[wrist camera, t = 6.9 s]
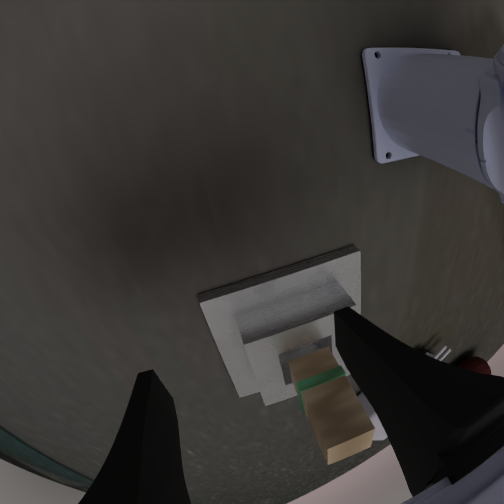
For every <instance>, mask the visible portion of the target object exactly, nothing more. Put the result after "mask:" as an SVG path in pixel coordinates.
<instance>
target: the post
mask: <svg viewBox="0 0 504 504" xmlns="http://www.w3.org/2000/svg"><path fill="white" fill-rule="evenodd" d="M288 363H289V368H290V373H291V378H292V383H293V386H294V388H295V391H296V393H297V395H298V398H299V401H300V406H301V408H302V411H303V413H304V414H306V416H307V418H308V421H309V423H310V425H311V427H312V430H313V432H314V434H315V437H316V439H317V441H318V443H319V446H320V448H321V450H322V452H323V455H324V457H325V459H326V462H327V464H328V465H329V464H332V463H334V462H337V461H339V460H342V459H344V458H346V457H349V456H351V455H353V454H356V453H358V452H360V451H362V450H365V449H367V448H369V447H371V443H372V439H373V435H374V431H375V427H374V425H373V424H372V422H371V420H370V418H369V417H368V415H367V413H366V411H365V410H364V408H363V406H362V404H361V403H360V401H359V399H358V397H357V396H356V394H355V392H354V390H353V389H352V387H351V385H350V383H349V382H348V380H347V378H346V373H345V371H344V369H343V368H342V366H341V365H340V366H339V364H338V363H337V361H336V359H335V358H334V356H333V354H332V352H331V351H330V349H329V347H326V348H323V349H320V350H318V351H315V352H312V353H310V354H307V355H304V356H302V357H299V358H296V359H293V360H290V361H288Z"/></svg>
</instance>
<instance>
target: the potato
mask: <svg viewBox="0 0 504 504" xmlns="http://www.w3.org/2000/svg"><path fill="white" fill-rule="evenodd" d="M456 366H457V367H460V368H463V369H466V370H470V371H474V372H478V373H483V374H489V375H491V370H490V367H489V365H488V363H487V362H486V361H485V360H484V359H482V358H480V357H476V356H475V357H469V358H467V359H465V360H463V361H462V362H460V363H459V364H458V365H456Z"/></svg>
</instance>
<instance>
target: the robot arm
mask: <svg viewBox="0 0 504 504" xmlns="http://www.w3.org/2000/svg"><path fill="white" fill-rule="evenodd" d="M375 52H376V53H377V55H378V56H377V58H376V57H375V55H374V53H375ZM362 58H363V64H364V71H365V77H366V84H367V91H368V99H369V107H370V115H371V125H372V135H373V146H374V158H375V160H376V161H377V162H378V163H381V164H383V163H388V162H392V161H397V160H401V159H406V158H410V157H415V156H419V155H421V156H423V157H426V158H428V159H431V160H433V161H435V162H438V163H440V164H442V165H444V166H447V167H449V168H451V169H453V170H456V171H458V172H460V173H462V174H464V175H466V176H468V177H470V178H473V179H475V180H477V181H479V182H481V183H483V184H485V185H487V186H489V187H491V188H493V189H495V190H496V191H497V192H498V193H499V194H500V197H501V202H502V203H503V204H504V44H503V46H502V47H501V49H500V50H499V51H498V52H497V53H496V55H495V56H494V58H493V59H491V58H483V57H473V56H462V55H460V54H459V52H458V51H453V50H441V49H424V48H366V49H364V50H363V52H362ZM387 153H388V157H386V154H387ZM334 326H335V346H336V348H337V350H338V352H339V354H340V356H341V358H342V360H343V362H344V364H345V366H346V368H347V369H348V371H349V372H350V374H351V376H352V377H353V379H354V380H355V382H356V383H357V385H358V386H359V388H360V389H361V391H362V392H363V394H364V395H365V397H366V398H367V400H368V401H369V403H370V404H371V406H372V407H373V409H374V411H375V413H376V414H377V416H378V418H379V420H380V422H381V424H382V426H383V428H384V430H385V432H386V434H387V436H388V439H389V441H390V443H391V445H392V447H393V449H394V452H395V454H396V457H397V459H398V461H399V464H400V466H401V468H402V471H403V474H404V476H405V479H406V482H407V484H408V487H409V490H410V492H411V494H412V496H413V497H412V498H410V499H409V500H407V501H405V502H403V503H401V504H504V377H500V376H494V375H489V374H483V373H478V372H474V371H470V370H466V369H463V368H460V367H457V366H454V365H451V364H448V363H445V362H442V361H440V360H437V359H435V358H433V357H430V356H428V355H426V354H424V353H422V352H420V351H418V350H416V349H414V348H412V347H410V346H408V345H406V344H405V343H403V342H401V341H399V340H398V339H396V338H394V337H393V336H391V335H390V334H388V333H386V332H385V331H383V330H382V329H380V328H379V327H377V326H376V325H374V324H373V323H371V322H370V321H368V320H367V319H366V318H364V317H363V316H361V315H360V314H359V313H357V312H356V311H355V310H353V309H352V308H350V307H349V306H347V307H344V308H342V309H339V310H336V311H334ZM78 504H191V502H190V499H189V495H188V491H187V487H186V483H185V479H184V474H183V468H182V459H181V449H180V439H179V428H178V420H177V415H176V410H175V405H174V401H173V398H172V396H171V395H170V393H169V392H168V391H167V389H166V388H165V386H164V385H163V384H162V382H161V381H160V379H159V378H158V376H157V375H156V373H155V372H154V370H149V371H145V372H141V373H138V375H137V378H136V381H135V385H134V388H133V391H132V394H131V397H130V400H129V403H128V406H127V409H126V412H125V415H124V418H123V421H122V423H121V426H120V428H119V431H118V433H117V436H116V439H115V441H114V443H113V446H112V448H111V450H110V452H109V454H108V456H107V458H106V460H105V462H104V464H103V466H102V468H101V470H100V471H99V473H98V475H97V477H96V478H95V480H94V482H93V483H92V485H91V486H90V488H89V489H88V491H87V492H86V494H85V495H84V497H83V498H82V499H81V501H80V502H79V503H78Z"/></svg>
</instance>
